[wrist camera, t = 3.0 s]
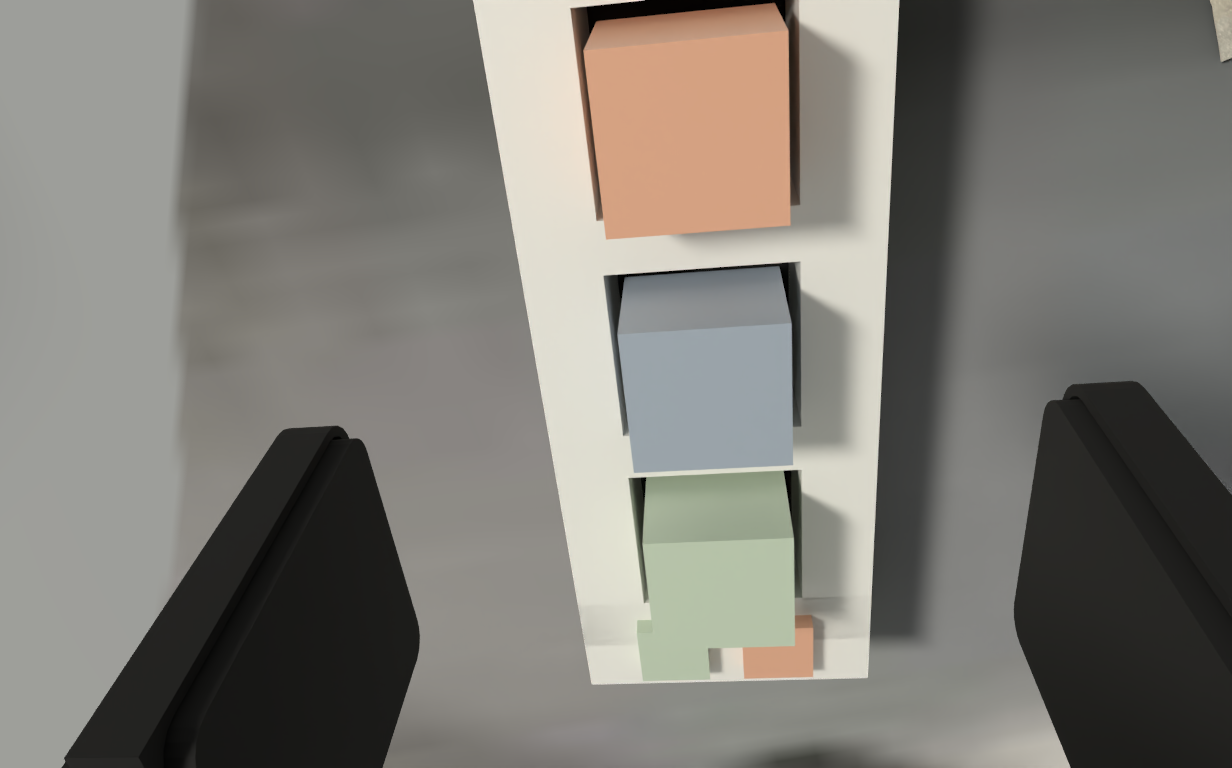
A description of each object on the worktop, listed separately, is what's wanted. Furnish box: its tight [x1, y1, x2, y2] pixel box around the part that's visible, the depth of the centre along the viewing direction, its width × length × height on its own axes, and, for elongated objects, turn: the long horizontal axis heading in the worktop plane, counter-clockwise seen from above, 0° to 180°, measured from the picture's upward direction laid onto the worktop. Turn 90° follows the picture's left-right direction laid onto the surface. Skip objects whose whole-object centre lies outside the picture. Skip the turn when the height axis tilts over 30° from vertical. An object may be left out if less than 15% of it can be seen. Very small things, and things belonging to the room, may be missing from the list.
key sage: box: [642, 470, 795, 650], centre depth 30 cm, size 4×4×4 cm
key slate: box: [617, 266, 793, 473], centre depth 26 cm, size 4×4×4 cm
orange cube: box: [583, 3, 791, 240], centre depth 23 cm, size 4×4×4 cm
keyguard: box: [473, 0, 899, 684], centre depth 29 cm, size 10×25×4 cm, turn 6°
